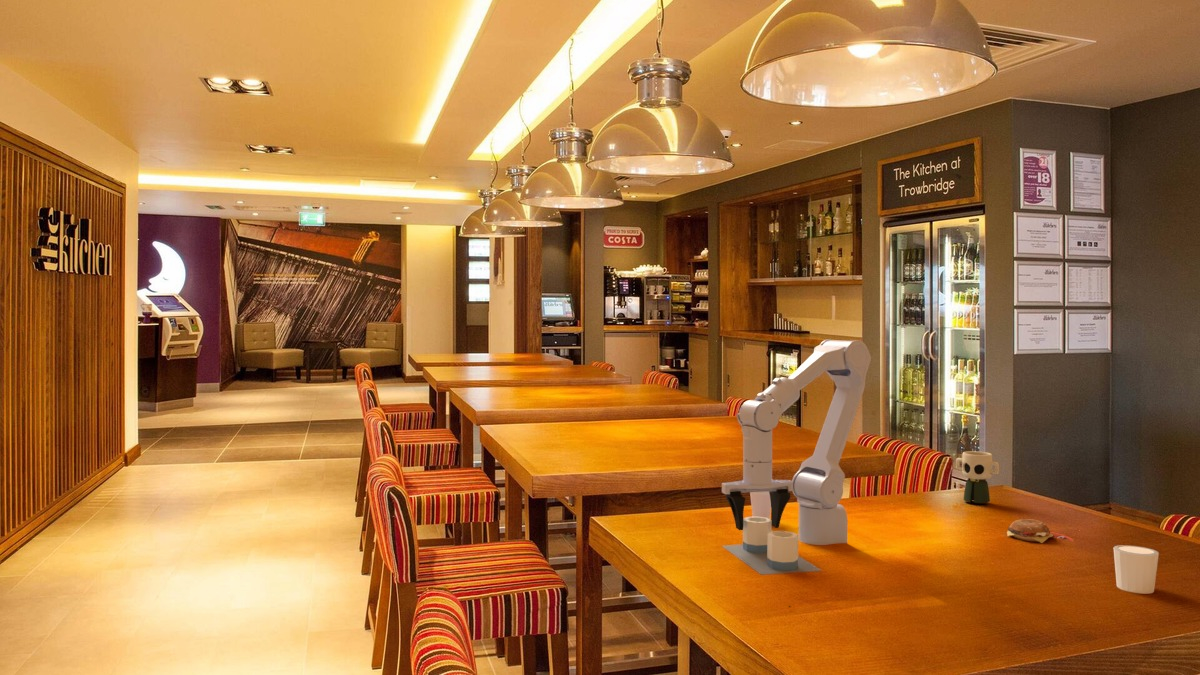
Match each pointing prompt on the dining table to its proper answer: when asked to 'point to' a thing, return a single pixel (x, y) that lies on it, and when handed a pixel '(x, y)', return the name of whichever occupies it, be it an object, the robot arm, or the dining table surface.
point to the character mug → (977, 474)
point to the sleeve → (756, 534)
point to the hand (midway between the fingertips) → (757, 527)
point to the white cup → (1135, 568)
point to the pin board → (760, 561)
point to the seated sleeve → (782, 550)
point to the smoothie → (761, 504)
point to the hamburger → (1032, 531)
